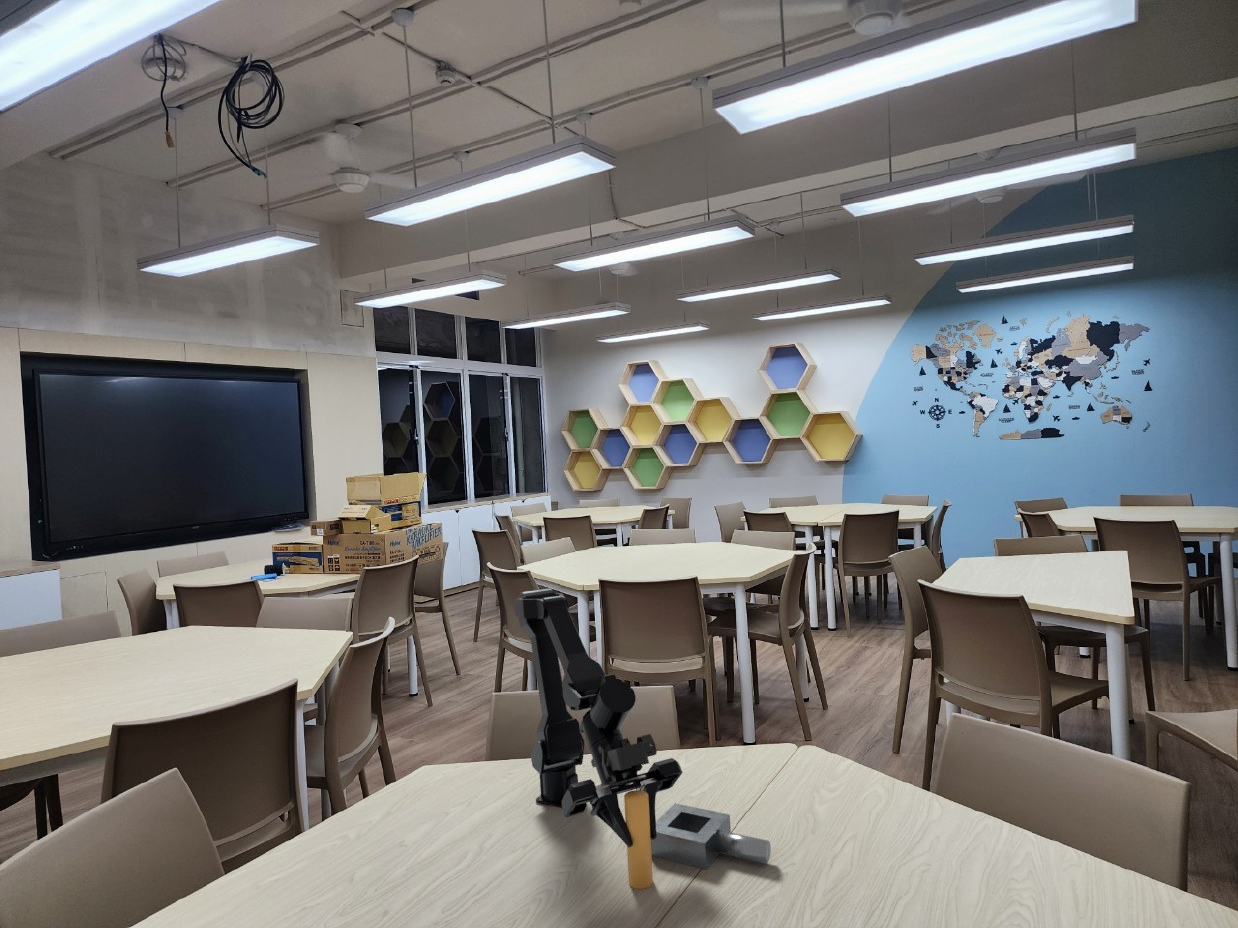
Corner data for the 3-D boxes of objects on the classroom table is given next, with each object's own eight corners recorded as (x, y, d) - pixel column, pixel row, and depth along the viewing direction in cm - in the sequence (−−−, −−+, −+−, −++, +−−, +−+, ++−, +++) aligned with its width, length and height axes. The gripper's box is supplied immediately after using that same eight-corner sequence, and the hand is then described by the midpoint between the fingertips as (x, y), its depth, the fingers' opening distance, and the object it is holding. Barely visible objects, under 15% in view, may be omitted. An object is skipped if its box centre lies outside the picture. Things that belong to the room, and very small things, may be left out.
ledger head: (648, 854, 121) (647, 829, 121) (676, 826, 129) (674, 803, 129) (756, 881, 111) (755, 854, 111) (778, 849, 120) (777, 824, 120)
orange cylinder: (624, 885, 112) (619, 798, 112) (636, 872, 116) (631, 788, 115) (645, 891, 111) (641, 802, 110) (657, 878, 114) (652, 792, 114)
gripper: (564, 731, 112) (599, 837, 102) (673, 707, 120) (715, 803, 111) (548, 766, 119) (579, 868, 110) (652, 740, 128) (689, 833, 118)
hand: (642, 842), depth 112 cm, fingers closed on orange cylinder, 4 cm apart
